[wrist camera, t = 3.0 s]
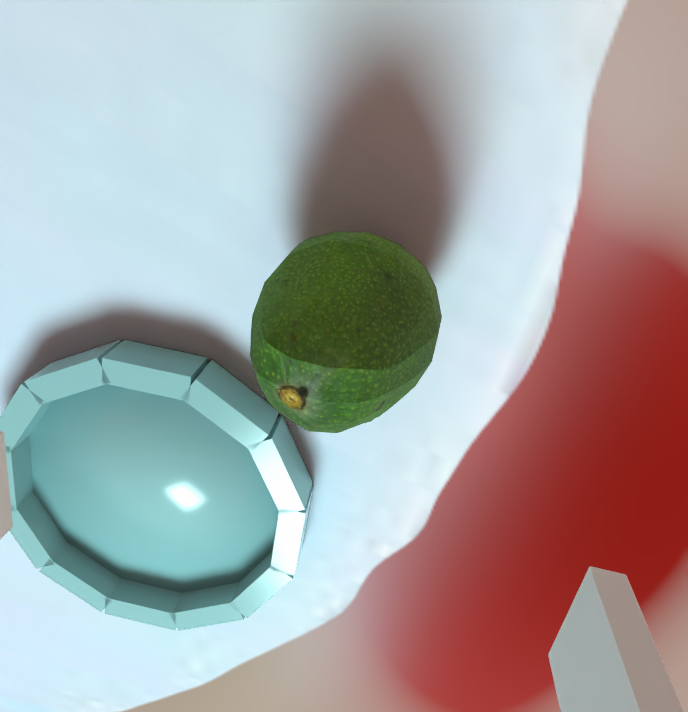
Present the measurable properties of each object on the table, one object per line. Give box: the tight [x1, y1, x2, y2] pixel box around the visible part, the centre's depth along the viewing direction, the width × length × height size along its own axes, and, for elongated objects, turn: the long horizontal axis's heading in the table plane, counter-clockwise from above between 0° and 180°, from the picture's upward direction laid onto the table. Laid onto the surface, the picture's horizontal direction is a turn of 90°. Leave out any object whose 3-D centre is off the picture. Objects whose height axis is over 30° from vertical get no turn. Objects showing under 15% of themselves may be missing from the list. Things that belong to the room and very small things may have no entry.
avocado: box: [250, 232, 442, 433], centre depth 24 cm, size 8×8×12 cm
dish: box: [0, 340, 313, 630], centre depth 35 cm, size 19×19×2 cm
